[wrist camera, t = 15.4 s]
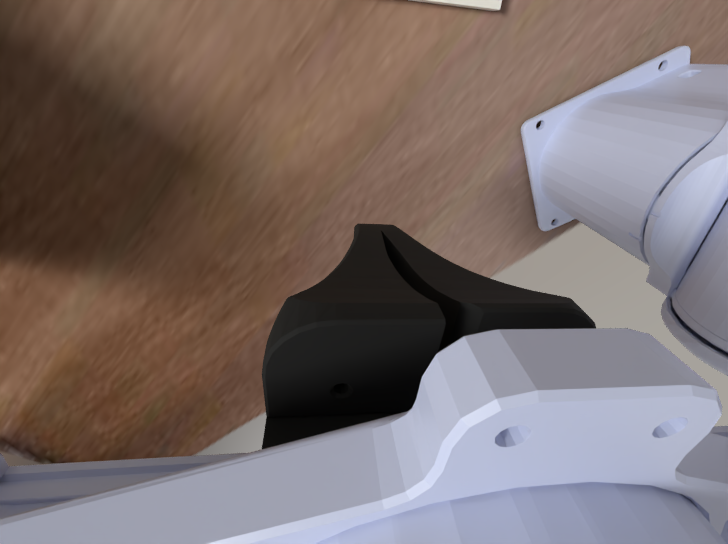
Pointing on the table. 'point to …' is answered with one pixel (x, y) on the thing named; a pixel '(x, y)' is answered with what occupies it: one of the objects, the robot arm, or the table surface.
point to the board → (469, 3)
